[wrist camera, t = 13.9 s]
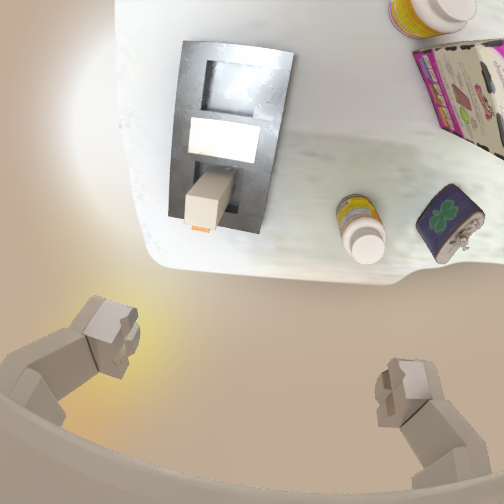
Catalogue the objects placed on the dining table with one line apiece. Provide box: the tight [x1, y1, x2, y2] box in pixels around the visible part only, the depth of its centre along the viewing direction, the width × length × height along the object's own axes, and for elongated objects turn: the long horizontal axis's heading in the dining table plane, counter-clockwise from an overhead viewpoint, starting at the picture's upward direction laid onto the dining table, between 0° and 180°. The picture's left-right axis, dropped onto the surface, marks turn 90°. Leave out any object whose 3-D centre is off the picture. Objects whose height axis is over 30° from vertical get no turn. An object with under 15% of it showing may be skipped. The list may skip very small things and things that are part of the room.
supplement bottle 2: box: [389, 0, 476, 39], centre depth 21 cm, size 7×7×13 cm
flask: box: [416, 184, 485, 264], centre depth 35 cm, size 9×3×11 cm, turn 149°
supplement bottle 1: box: [337, 195, 387, 264], centre depth 38 cm, size 6×6×10 cm
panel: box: [168, 41, 294, 234], centre depth 38 cm, size 24×13×3 cm, turn 171°
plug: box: [184, 167, 236, 233], centre depth 38 cm, size 4×4×10 cm
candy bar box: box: [412, 38, 504, 160], centre depth 24 cm, size 11×5×16 cm, turn 29°
